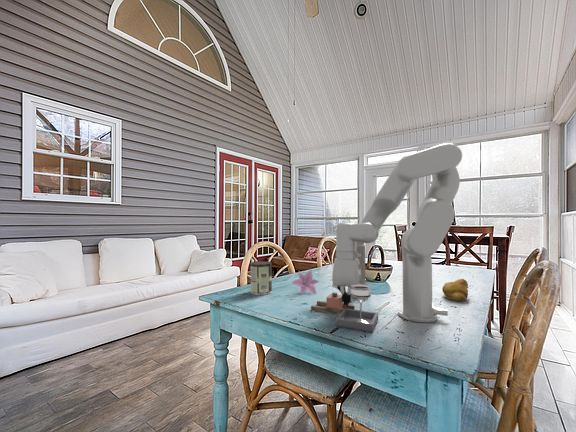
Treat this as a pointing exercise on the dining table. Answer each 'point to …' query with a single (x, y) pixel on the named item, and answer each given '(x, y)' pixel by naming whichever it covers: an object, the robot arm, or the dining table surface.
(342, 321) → the tray
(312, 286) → the lily
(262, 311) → the dining table surface
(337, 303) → the piston block
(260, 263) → the coffee can
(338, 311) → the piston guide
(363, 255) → the thermos bottle
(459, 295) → the bread roll
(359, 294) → the wineglass
